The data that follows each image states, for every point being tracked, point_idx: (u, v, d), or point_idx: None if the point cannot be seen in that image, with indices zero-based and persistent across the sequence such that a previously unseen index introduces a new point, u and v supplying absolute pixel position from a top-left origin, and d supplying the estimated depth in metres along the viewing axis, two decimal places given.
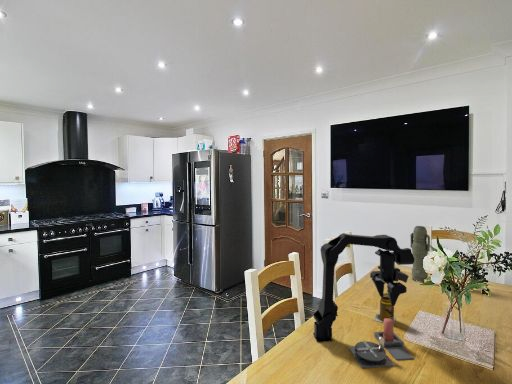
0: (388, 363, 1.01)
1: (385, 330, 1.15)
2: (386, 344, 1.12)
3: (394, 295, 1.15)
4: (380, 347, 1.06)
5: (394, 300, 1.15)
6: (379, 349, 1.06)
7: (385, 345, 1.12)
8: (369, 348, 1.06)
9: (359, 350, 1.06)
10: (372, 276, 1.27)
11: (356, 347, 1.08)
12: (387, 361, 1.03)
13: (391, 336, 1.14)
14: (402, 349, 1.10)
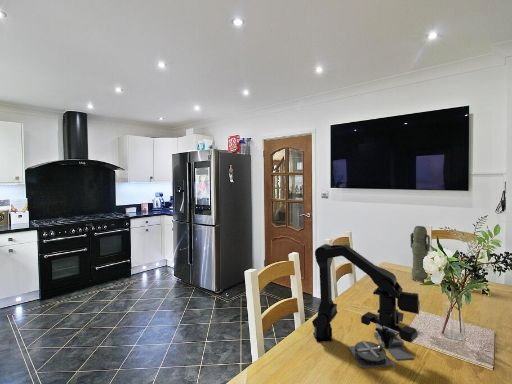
0: (388, 363, 1.01)
1: None
2: None
3: (391, 337, 1.04)
4: (380, 346, 1.06)
5: (390, 342, 1.04)
6: (379, 349, 1.06)
7: None
8: (369, 348, 1.06)
9: (360, 351, 1.05)
10: (366, 322, 1.08)
11: (356, 348, 1.08)
12: (387, 361, 1.03)
13: None
14: (402, 349, 1.10)
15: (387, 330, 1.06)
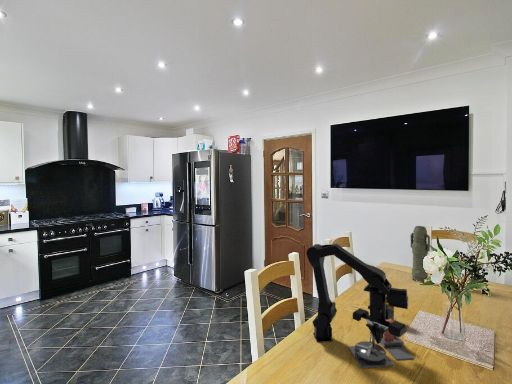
0: (388, 363, 1.01)
1: None
2: (386, 344, 1.12)
3: (381, 332, 1.07)
4: (373, 342, 1.09)
5: (381, 337, 1.07)
6: (373, 345, 1.09)
7: (385, 345, 1.12)
8: (369, 348, 1.06)
9: (369, 355, 1.03)
10: (357, 318, 1.11)
11: (362, 354, 1.04)
12: (387, 361, 1.03)
13: (391, 336, 1.14)
14: (402, 349, 1.10)
15: (377, 326, 1.09)
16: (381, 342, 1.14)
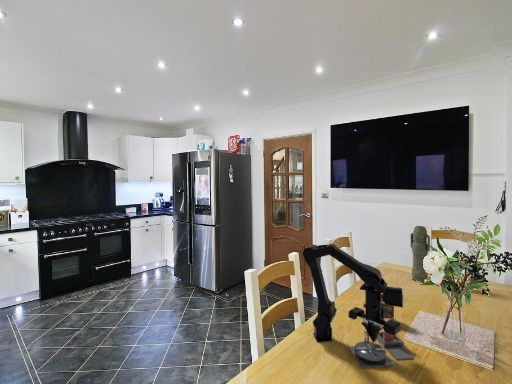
0: (388, 363, 1.01)
1: None
2: (386, 344, 1.12)
3: (376, 330, 1.08)
4: (368, 341, 1.10)
5: (376, 335, 1.08)
6: (369, 343, 1.10)
7: (385, 345, 1.12)
8: (370, 348, 1.06)
9: (374, 356, 1.02)
10: (353, 316, 1.12)
11: (368, 357, 1.02)
12: (387, 361, 1.03)
13: (391, 336, 1.14)
14: (402, 349, 1.10)
15: (373, 324, 1.10)
16: (381, 342, 1.14)
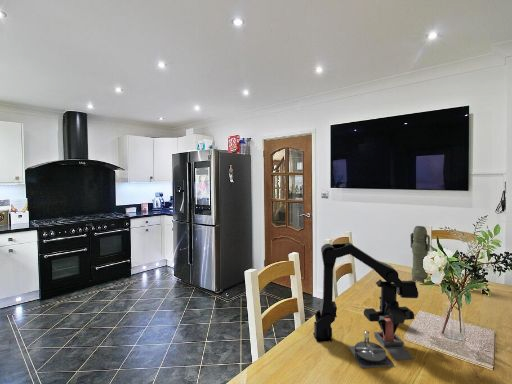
0: (388, 363, 1.01)
1: (385, 330, 1.15)
2: (386, 344, 1.12)
3: (381, 322, 1.15)
4: (368, 341, 1.10)
5: (382, 328, 1.15)
6: (369, 343, 1.10)
7: (385, 345, 1.12)
8: (370, 348, 1.06)
9: (374, 356, 1.02)
10: None
11: (368, 357, 1.02)
12: (387, 361, 1.03)
13: (391, 336, 1.14)
14: (402, 349, 1.10)
15: None
16: (381, 342, 1.14)
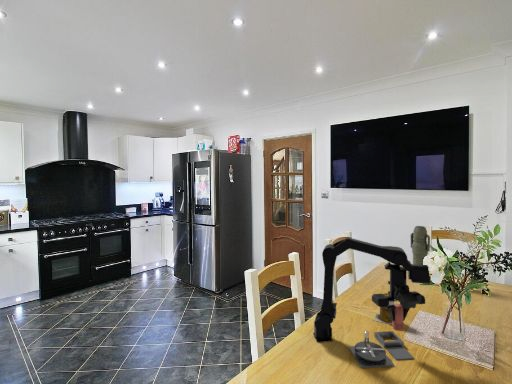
0: (388, 363, 1.01)
1: (395, 316, 1.08)
2: (386, 344, 1.12)
3: (390, 308, 1.09)
4: (368, 341, 1.10)
5: (391, 314, 1.08)
6: (369, 343, 1.10)
7: (385, 345, 1.12)
8: (370, 348, 1.06)
9: (374, 356, 1.02)
10: None
11: (368, 357, 1.02)
12: (387, 361, 1.03)
13: (401, 322, 1.07)
14: (402, 349, 1.10)
15: None
16: (381, 342, 1.14)
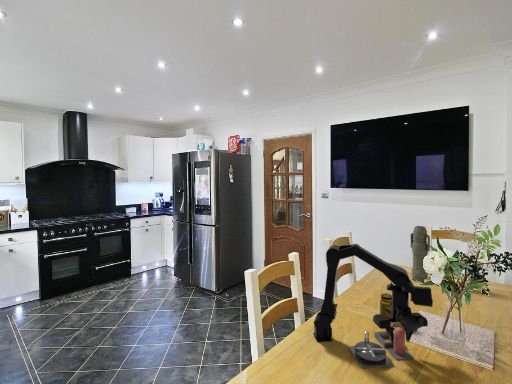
0: (388, 363, 1.01)
1: (396, 340, 1.07)
2: (386, 344, 1.12)
3: (388, 330, 1.07)
4: (368, 341, 1.10)
5: (390, 336, 1.07)
6: (369, 343, 1.10)
7: (385, 345, 1.12)
8: (370, 348, 1.06)
9: (374, 356, 1.02)
10: None
11: (368, 357, 1.02)
12: (387, 361, 1.03)
13: (402, 347, 1.06)
14: None
15: None
16: (381, 342, 1.14)
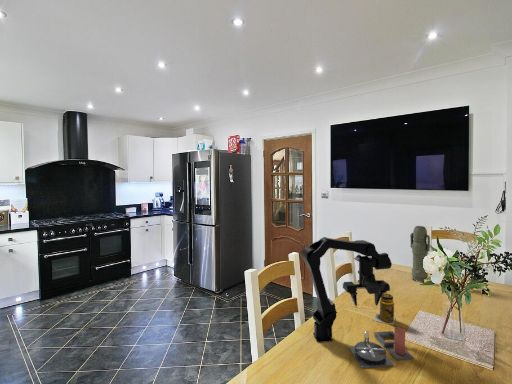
0: (388, 363, 1.01)
1: (396, 340, 1.07)
2: (386, 344, 1.12)
3: (353, 295, 1.22)
4: (368, 341, 1.10)
5: (354, 300, 1.22)
6: (369, 343, 1.10)
7: (385, 345, 1.12)
8: (370, 348, 1.06)
9: (374, 356, 1.02)
10: None
11: (368, 357, 1.02)
12: (387, 361, 1.03)
13: (403, 347, 1.06)
14: None
15: None
16: (381, 342, 1.14)
